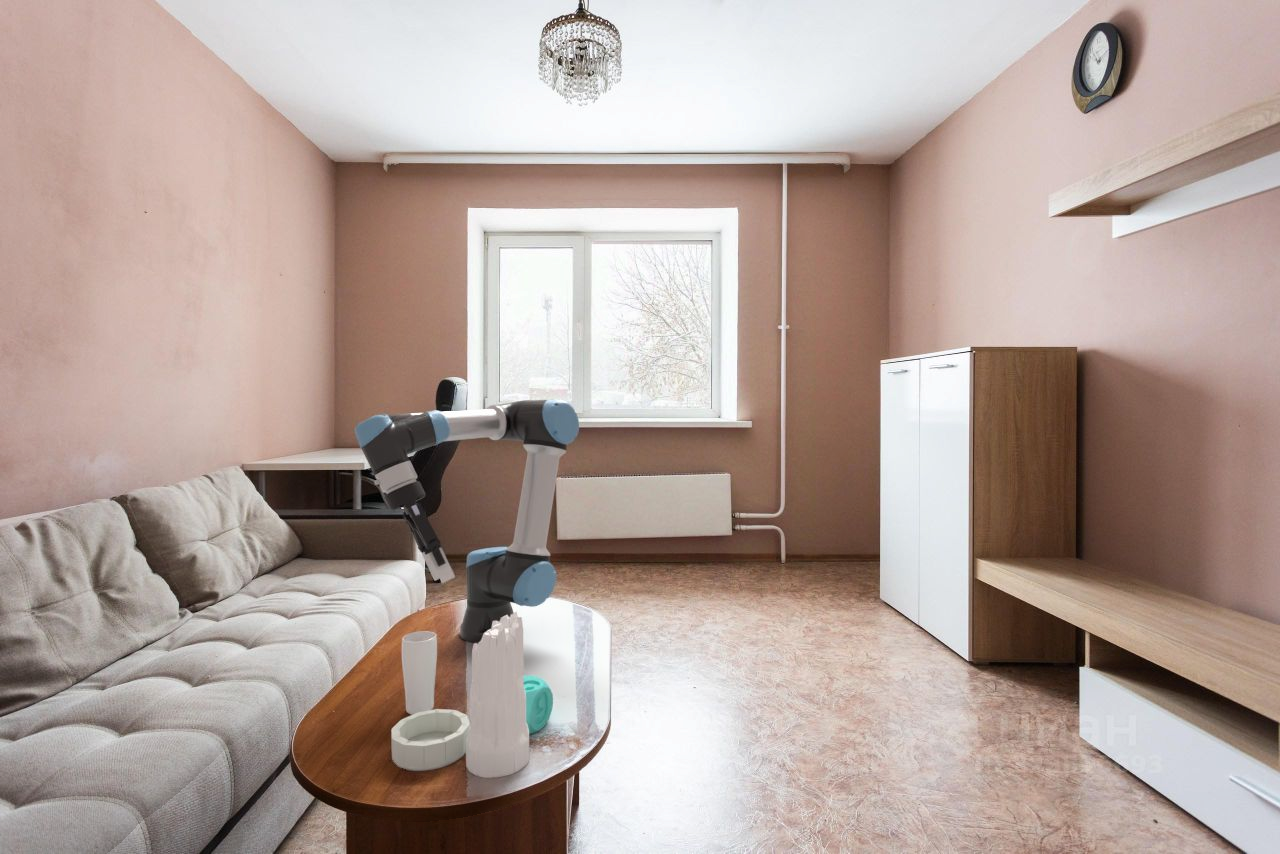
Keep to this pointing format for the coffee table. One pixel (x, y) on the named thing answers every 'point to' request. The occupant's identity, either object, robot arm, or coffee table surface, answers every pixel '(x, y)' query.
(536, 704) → the decorative dice
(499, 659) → the decorative vase
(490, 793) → the coffee table surface
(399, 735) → the dish
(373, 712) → the coffee table surface
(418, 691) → the drinking glass
